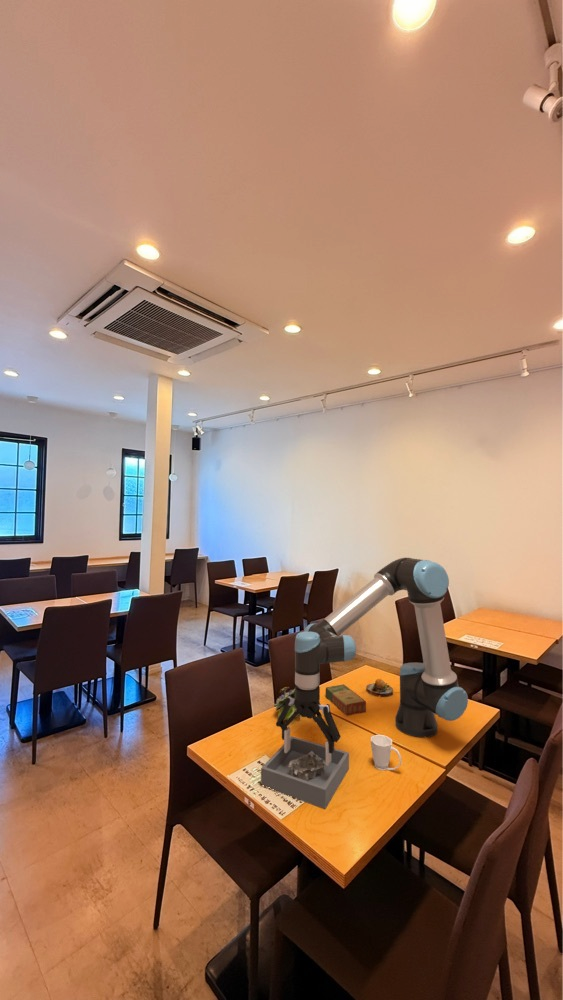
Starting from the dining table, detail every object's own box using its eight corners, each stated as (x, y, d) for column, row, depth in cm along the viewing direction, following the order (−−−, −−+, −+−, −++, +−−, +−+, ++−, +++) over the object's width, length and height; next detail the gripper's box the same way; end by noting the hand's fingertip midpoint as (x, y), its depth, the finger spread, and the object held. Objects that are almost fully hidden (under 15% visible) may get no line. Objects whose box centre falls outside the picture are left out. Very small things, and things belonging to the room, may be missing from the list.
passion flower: (283, 727, 164) (291, 692, 172) (308, 731, 157) (315, 694, 165) (264, 718, 157) (273, 681, 165) (290, 721, 150) (297, 683, 158)
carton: (345, 716, 162) (345, 704, 162) (324, 697, 179) (324, 686, 179) (366, 712, 165) (366, 700, 165) (344, 694, 182) (344, 683, 182)
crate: (349, 769, 127) (349, 752, 127) (325, 809, 109) (325, 789, 110) (291, 751, 136) (291, 736, 137) (260, 785, 119) (261, 768, 119)
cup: (376, 757, 134) (376, 731, 134) (405, 769, 127) (405, 743, 128) (365, 766, 128) (366, 740, 129) (395, 780, 122) (395, 752, 122)
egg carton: (301, 786, 117) (301, 772, 117) (286, 773, 123) (286, 759, 123) (328, 772, 124) (328, 759, 124) (312, 761, 129) (312, 748, 130)
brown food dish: (395, 689, 188) (395, 673, 188) (391, 700, 177) (391, 682, 177) (369, 684, 193) (369, 668, 193) (363, 694, 182) (363, 677, 182)
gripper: (350, 688, 122) (351, 761, 121) (277, 673, 133) (276, 740, 132) (342, 698, 115) (342, 775, 114) (265, 681, 127) (265, 751, 126)
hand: (307, 756), depth 123 cm, fingers open, 13 cm apart
